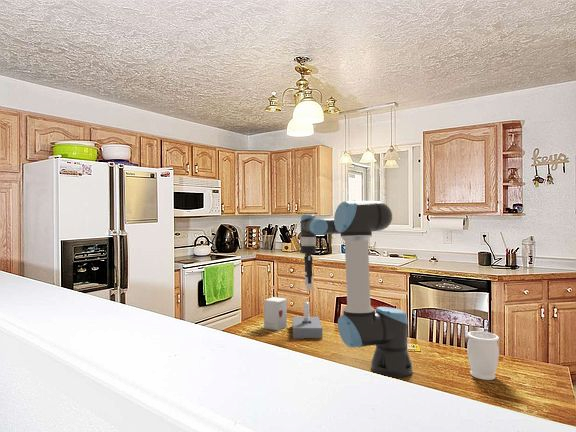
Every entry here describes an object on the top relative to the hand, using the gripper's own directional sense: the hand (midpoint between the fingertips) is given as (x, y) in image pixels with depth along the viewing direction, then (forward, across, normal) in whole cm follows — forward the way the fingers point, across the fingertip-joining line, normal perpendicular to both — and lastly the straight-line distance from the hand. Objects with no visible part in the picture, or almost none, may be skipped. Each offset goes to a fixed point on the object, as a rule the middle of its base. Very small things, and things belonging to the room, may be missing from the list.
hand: (308, 287), depth 189 cm
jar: (+24, +51, +61) cm, 83 cm away
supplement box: (+23, -9, -17) cm, 30 cm away
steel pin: (+23, -1, -1) cm, 23 cm away
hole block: (+23, -1, -1) cm, 23 cm away
